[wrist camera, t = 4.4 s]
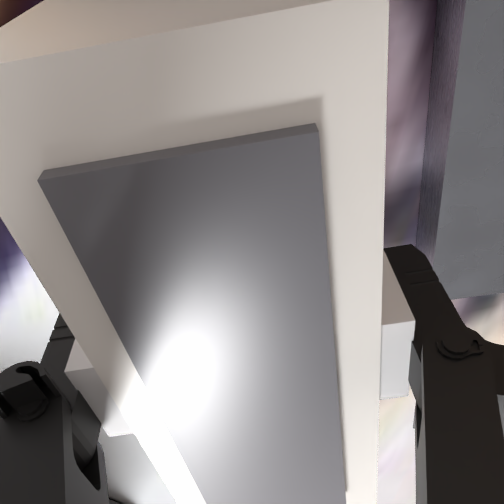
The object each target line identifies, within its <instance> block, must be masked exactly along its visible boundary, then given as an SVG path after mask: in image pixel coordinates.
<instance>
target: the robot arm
mask: <svg viewBox="0 0 504 504" xmlns="http://www.w3.org/2000/svg"><path fill="white" fill-rule="evenodd" d="M49 340H50V342H48V344H47V347H46V350H45V352H44V355H43V357H42V360H41V363H40V364H39V363H38V362H32V361H26V362H21V363H17V364H15V365H13V366H11V367H9V368H7V369H5V370H4V371H3V372H1V373H0V504H119V503H117V502H115V501H112V500H110V499H109V497H108V488H107V479H106V469H105V460H104V452H103V450H102V447H101V445H100V444H99V442H98V437H99V432H100V428H101V426H102V428H103V429H104V430H105V432H106V433H107V435H108V436H109V437H113V436H120V435H127V434H134V433H133V431H132V429H131V428H130V426H129V424H128V423H127V421H126V420H125V418H124V416H123V415H122V413H121V412H120V410H119V408H118V407H117V405H116V403H115V402H114V400H113V399H112V397H111V395H110V394H109V392H108V390H107V389H106V387H105V386H104V384H103V382H102V381H101V379H100V377H99V376H98V374H97V373H96V371H95V369H94V368H93V366H92V364H91V363H90V361H89V360H88V358H87V356H86V355H85V353H84V351H83V350H82V348H81V347H80V345H79V343H78V342H77V340H76V339H75V337H74V335H73V334H72V332H71V330H70V329H69V327H68V326H67V324H66V322H65V321H64V319H63V317H62V316H61V314H60V313H59V316H58V318H57V321H56V324H55V326H54V330H53V331H52V334H51V337H50V339H49ZM409 384H410V386H411V389H412V392H413V394H414V397H415V399H416V406H415V415H414V424H413V428H415V456H416V504H504V345H499V344H494V343H491V342H489V341H486V340H484V339H483V338H482V337H481V336H480V335H479V334H478V333H477V332H476V331H474V330H472V329H470V328H468V327H466V326H465V324H464V323H463V321H462V320H461V318H460V316H459V314H458V312H457V311H456V309H455V307H454V305H453V303H452V302H451V300H450V298H449V296H448V294H447V293H446V291H445V289H444V287H443V285H442V284H441V282H439V278H438V276H437V275H436V273H435V271H433V268H432V266H431V264H430V262H429V260H428V259H427V257H426V255H425V254H424V253H422V252H421V251H420V250H418V249H417V248H416V247H414V246H413V245H412V244H409V245H403V246H396V247H390V248H384V249H383V274H382V315H381V356H380V396H379V400H383V399H391V398H398V397H405V396H408V395H409Z"/></svg>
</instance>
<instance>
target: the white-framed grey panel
mask: <svg viewBox="0 0 504 504" xmlns="http://www.w3.org/2000/svg"><path fill="white" fill-rule="evenodd" d="M388 31H389V0H44V1H42V2H41V3H39V4H37V5H36V6H34V7H33V8H31V9H29V10H28V11H26V12H25V13H23V14H21V15H20V16H18V17H16V18H15V19H13V20H12V21H10V22H8V23H7V24H5V25H4V26H2V27H0V217H1V218H2V220H3V222H4V223H5V225H6V227H7V228H8V230H9V231H10V233H11V235H12V236H13V238H14V240H15V241H16V243H17V244H18V246H19V248H20V249H21V251H22V253H23V254H24V256H25V257H26V259H27V261H28V262H29V264H30V266H31V267H32V269H33V270H34V272H35V274H36V275H37V277H38V278H39V280H40V282H41V283H42V285H43V287H44V288H45V290H46V291H47V293H48V295H49V296H50V298H51V300H52V301H53V303H54V304H55V306H56V308H57V309H58V311H59V313H60V314H61V316H62V317H63V319H64V321H65V322H66V324H67V326H68V327H69V329H70V330H71V332H72V334H73V335H74V337H75V339H76V340H77V342H78V343H79V345H80V347H81V348H82V350H83V351H84V353H85V355H86V356H87V358H88V360H89V361H90V363H91V364H92V366H93V368H94V369H95V371H96V373H97V374H98V376H99V377H100V379H101V381H102V382H103V384H104V386H105V387H106V389H107V390H108V392H109V394H110V395H111V397H112V399H113V400H114V402H115V403H116V405H117V407H118V408H119V410H120V412H121V413H122V415H123V416H124V418H125V420H126V421H127V423H128V424H129V426H130V428H131V429H132V431H133V433H134V434H135V436H136V437H137V439H138V441H139V442H140V444H141V446H142V447H143V449H144V450H145V452H146V454H147V455H148V457H149V459H150V460H151V462H152V463H153V465H154V467H155V468H156V470H157V472H158V473H159V475H160V476H161V478H162V480H163V481H164V483H165V485H166V486H167V488H168V489H169V491H170V493H171V494H172V496H173V497H174V499H175V501H176V502H177V504H377V477H378V437H379V396H380V356H381V315H382V274H383V234H384V193H385V153H386V112H387V72H388Z"/></svg>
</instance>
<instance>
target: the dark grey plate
mask: <svg viewBox="0 0 504 504" xmlns="http://www.w3.org/2000/svg"><path fill="white" fill-rule="evenodd" d="M416 248H417V249H418V250H420V251H421V252H422V253H424V254H425V255H426V257H427V259H428V260H429V262H430V264H431V266H432V268H433V271H435V273H436V275H437V276H438V278H439V282H441V284H442V285H443V287H444V289H445V291H446V293H447V294H448V296H449V298H450V300H452V299H459V298H467V297H474V296H481V295H489V294H496V293H503V292H504V0H438V2H437V14H436V25H435V36H434V47H433V59H432V70H431V81H430V93H429V104H428V115H427V126H426V138H425V149H424V160H423V172H422V183H421V194H420V205H419V217H418V228H417V239H416Z"/></svg>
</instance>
